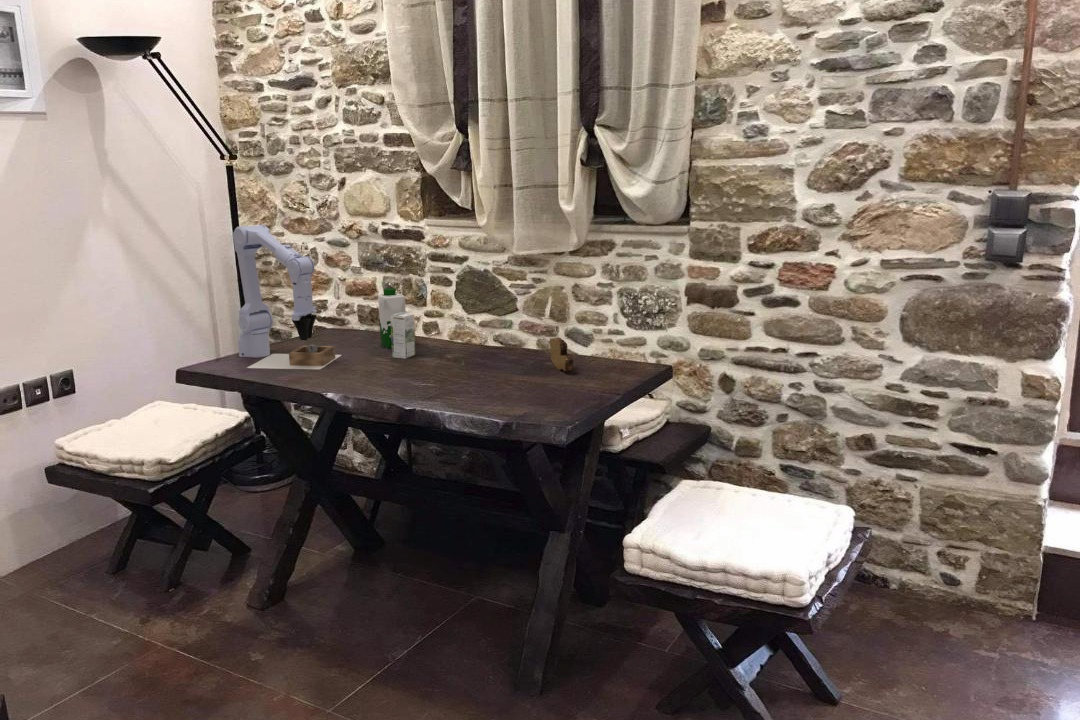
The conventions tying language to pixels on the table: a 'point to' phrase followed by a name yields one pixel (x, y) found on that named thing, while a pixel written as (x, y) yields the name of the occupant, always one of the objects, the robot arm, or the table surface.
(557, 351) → the wooden carving
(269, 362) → the post board
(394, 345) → the syrup box
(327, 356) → the square collar
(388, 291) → the milk carton
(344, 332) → the table surface
